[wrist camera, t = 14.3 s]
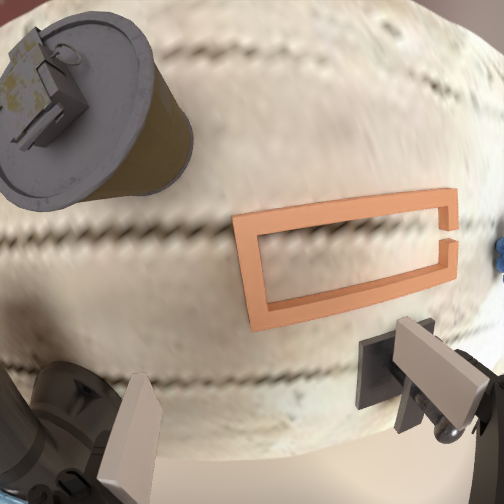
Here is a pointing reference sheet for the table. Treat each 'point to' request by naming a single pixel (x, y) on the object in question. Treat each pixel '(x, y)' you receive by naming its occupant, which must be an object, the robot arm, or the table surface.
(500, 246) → the grapes
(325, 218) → the link
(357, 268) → the table surface
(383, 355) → the stand
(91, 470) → the robot arm
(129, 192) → the canister
